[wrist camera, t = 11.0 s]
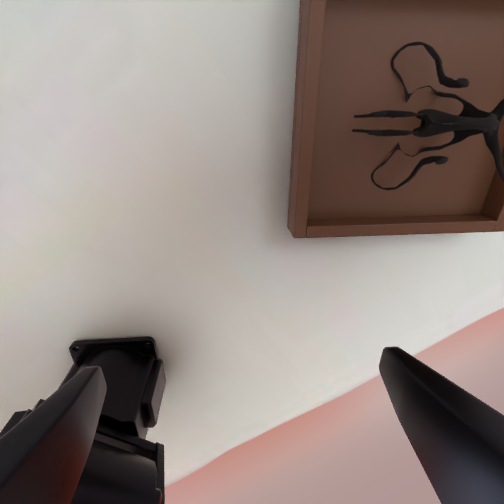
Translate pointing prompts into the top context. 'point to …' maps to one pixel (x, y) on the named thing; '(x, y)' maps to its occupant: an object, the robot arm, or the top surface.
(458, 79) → the creature
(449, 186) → the tray
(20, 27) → the top surface
